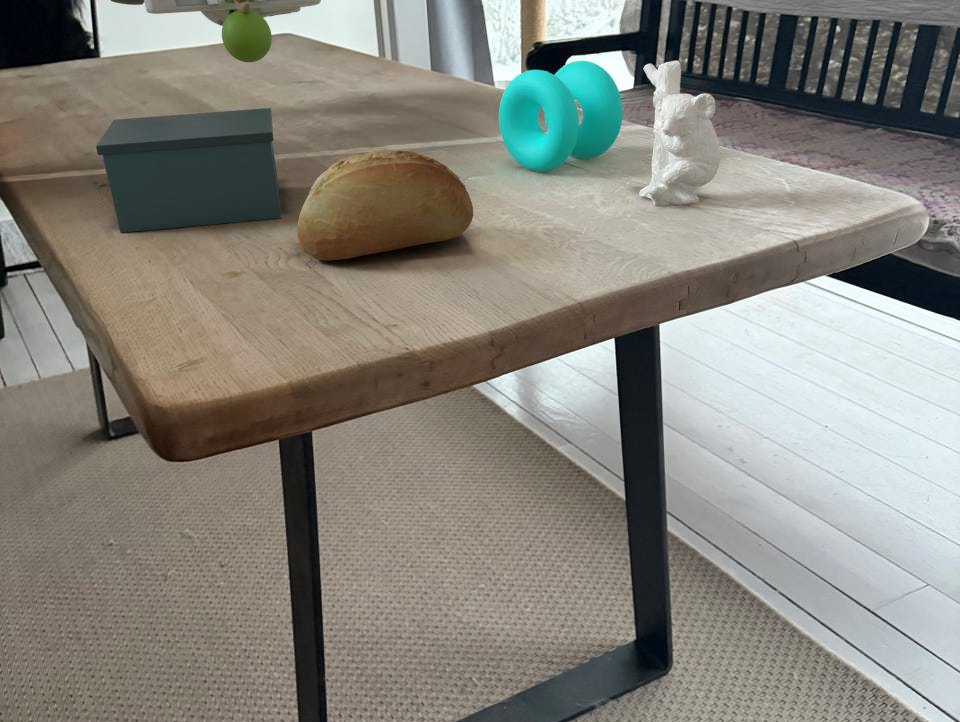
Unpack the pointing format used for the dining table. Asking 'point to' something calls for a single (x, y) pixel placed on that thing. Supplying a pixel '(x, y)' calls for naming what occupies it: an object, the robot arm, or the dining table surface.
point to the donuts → (560, 115)
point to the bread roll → (382, 205)
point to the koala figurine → (680, 139)
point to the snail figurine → (246, 34)
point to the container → (191, 169)
